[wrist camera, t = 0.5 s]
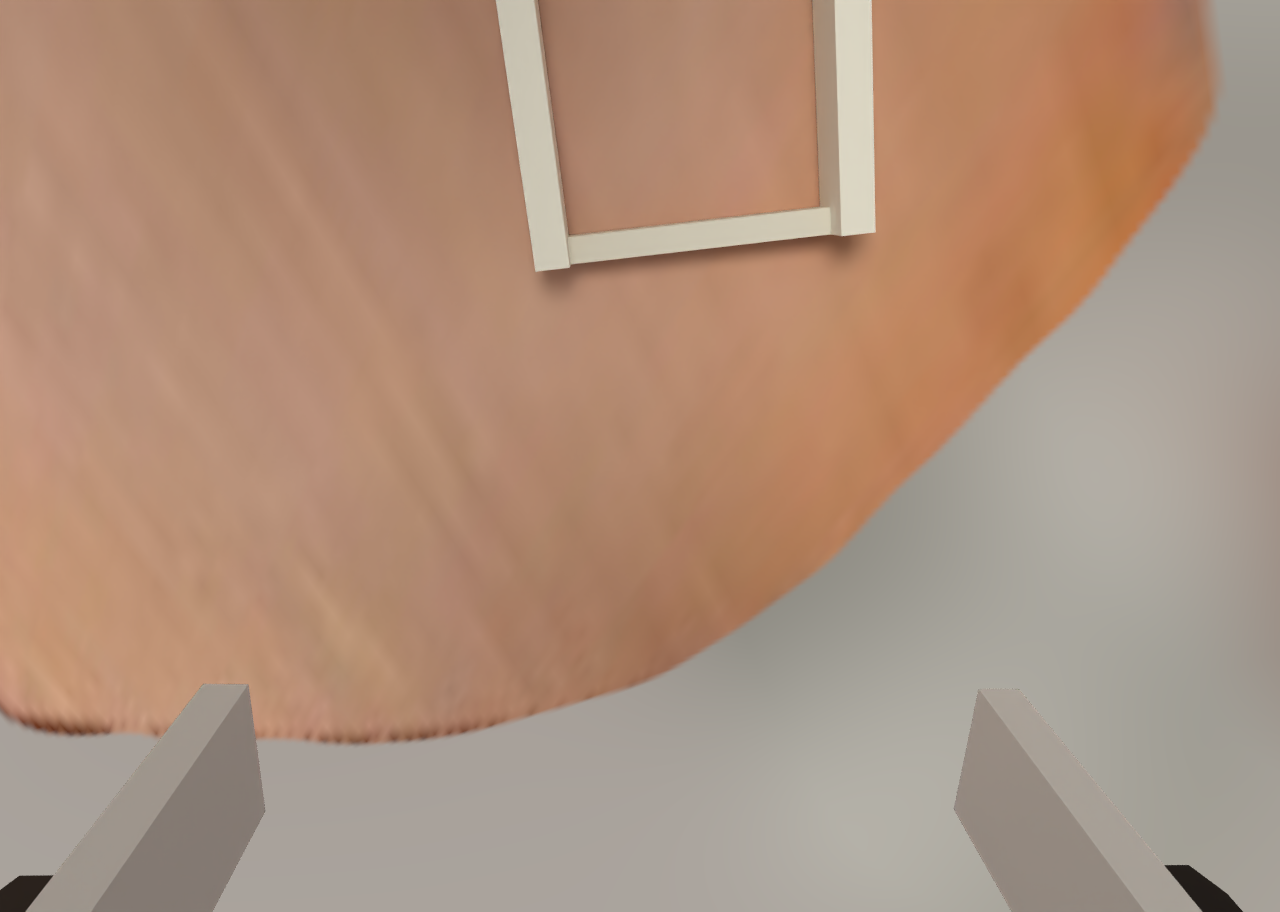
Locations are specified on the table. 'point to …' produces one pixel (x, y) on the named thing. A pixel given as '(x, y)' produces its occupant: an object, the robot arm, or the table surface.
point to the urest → (841, 212)
